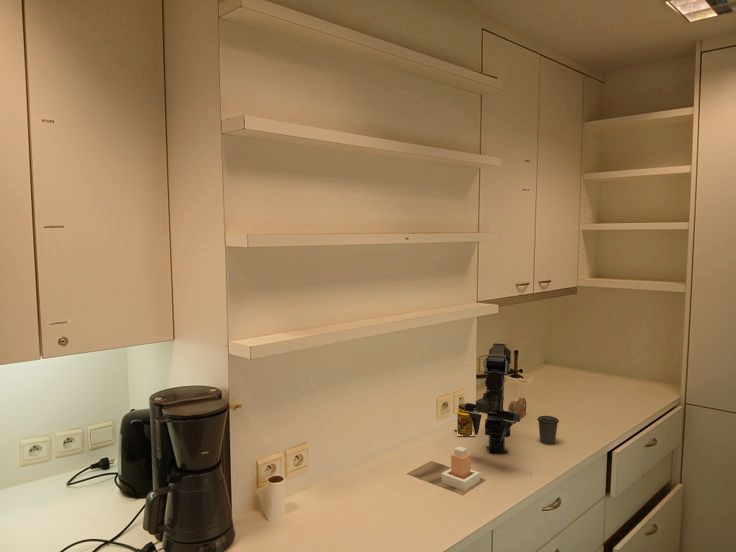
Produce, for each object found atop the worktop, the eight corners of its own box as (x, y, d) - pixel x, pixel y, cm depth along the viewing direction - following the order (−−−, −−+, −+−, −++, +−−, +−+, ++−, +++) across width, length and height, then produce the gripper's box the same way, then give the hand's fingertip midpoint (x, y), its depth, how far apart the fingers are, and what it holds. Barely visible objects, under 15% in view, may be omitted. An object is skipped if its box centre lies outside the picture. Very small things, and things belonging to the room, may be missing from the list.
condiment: (457, 437, 214) (457, 407, 213) (454, 429, 222) (454, 401, 222) (475, 437, 214) (476, 407, 213) (471, 429, 222) (472, 401, 222)
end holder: (441, 482, 172) (441, 473, 172) (456, 473, 179) (456, 464, 178) (464, 491, 166) (465, 481, 166) (479, 481, 173) (479, 472, 172)
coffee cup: (560, 447, 204) (560, 421, 203) (537, 445, 205) (538, 420, 205) (557, 439, 212) (557, 414, 211) (535, 437, 213) (536, 413, 212)
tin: (513, 423, 229) (514, 404, 229) (506, 422, 231) (507, 403, 231) (526, 414, 241) (527, 396, 241) (520, 412, 243) (520, 394, 243)
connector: (450, 482, 172) (451, 449, 171) (458, 477, 175) (458, 445, 175) (462, 486, 169) (463, 452, 168) (470, 481, 172) (470, 448, 172)
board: (406, 477, 179) (406, 473, 178) (431, 464, 189) (431, 460, 189) (462, 499, 164) (462, 495, 164) (486, 483, 174) (486, 479, 174)
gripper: (459, 385, 186) (452, 431, 183) (509, 394, 174) (502, 443, 171) (475, 388, 194) (468, 431, 192) (523, 397, 182) (517, 444, 179)
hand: (488, 437), depth 183 cm, fingers open, 9 cm apart
